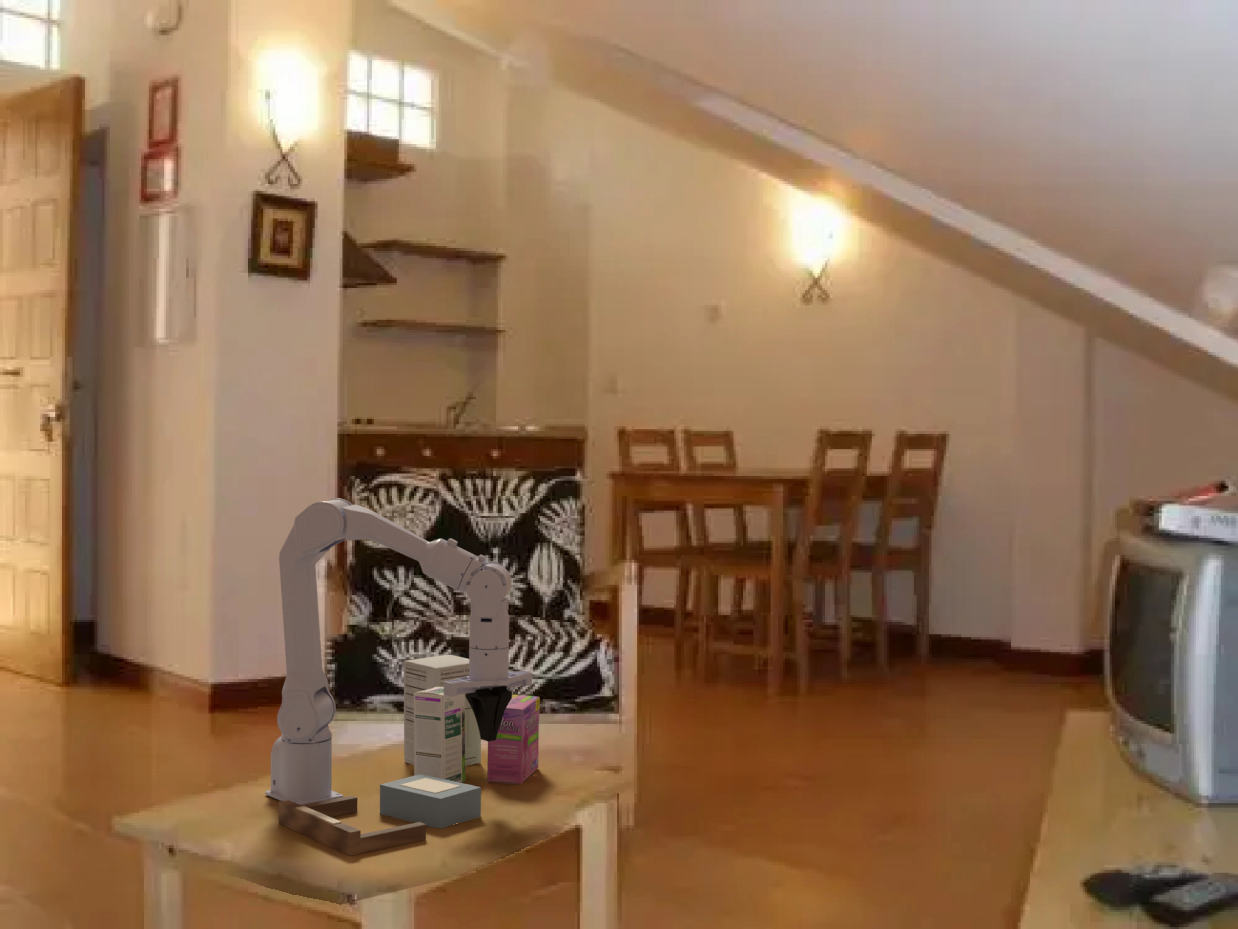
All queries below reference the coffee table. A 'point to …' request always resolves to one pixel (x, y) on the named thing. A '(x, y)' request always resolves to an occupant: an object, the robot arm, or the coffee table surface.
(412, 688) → the supplement box
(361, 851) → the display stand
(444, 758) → the syrup box
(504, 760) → the box
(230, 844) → the coffee table surface
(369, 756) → the coffee table surface
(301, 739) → the robot arm
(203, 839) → the coffee table surface
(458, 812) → the carton
